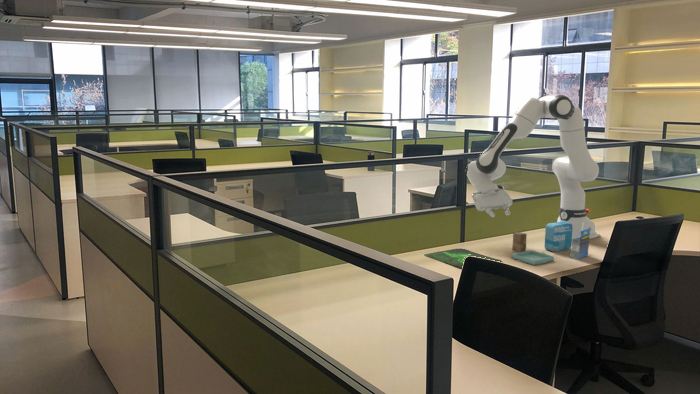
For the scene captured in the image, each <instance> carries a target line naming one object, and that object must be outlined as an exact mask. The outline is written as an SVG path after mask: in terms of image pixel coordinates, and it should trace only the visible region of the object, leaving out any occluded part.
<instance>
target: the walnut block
mask: <svg viewBox="0 0 700 394" xmlns="http://www.w3.org/2000/svg"><path fill="white" fill-rule="evenodd" d="M511 250H512V251H513V252H515V253H519V252H524V251H527V233H524V232H521V231H519V232H513V234H512V249H511Z"/></svg>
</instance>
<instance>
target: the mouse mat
mask: <svg viewBox="0 0 700 394" xmlns="http://www.w3.org/2000/svg"><path fill="white" fill-rule="evenodd" d="M468 254H471V255H468ZM423 256H424V257H426V258H430V259H432V260H434V261H438V262H441V263H443V264H445V265H449V266H452V267H455V268H459V269H461V270H463V269H462V266H463V262H464V260H465V258H466V257H467V256H476V257H481V258H485V257H486V258H485V259H490V260H495V261H500V262H501V263H502V262H503V261H502V259H499V258H496V257H495V258H494V257H491V256H487V255H485V254H480V253H477V252H473V251H472V250H468V249H465V248H459V247H458V248H453V249H446V250H442V251H436V252H435V251H434V252H429V253H424V254H423ZM464 257H465V258H464ZM463 259H464V260H463Z"/></svg>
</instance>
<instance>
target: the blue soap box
mask: <svg viewBox="0 0 700 394" xmlns="http://www.w3.org/2000/svg"><path fill="white" fill-rule="evenodd" d="M572 228H573V226H572V224H571V223H567V222H557V221H556V222H550V223H549V222H548V223H547V224H546V225H545V231H544V232H545V234H544V249H545V250H547V251H550V252H554V253H555V252H560V251H568V250H571V246H572Z"/></svg>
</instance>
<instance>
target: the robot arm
mask: <svg viewBox="0 0 700 394" xmlns="http://www.w3.org/2000/svg"><path fill="white" fill-rule="evenodd" d="M542 118H548V119H556V120H557V121H558V125H559V126H558V127H559V139H560V140H559V141H560V147H561V149H562V150H563V151H564V152H565V154H566V155H565V156H559V157H557V158H555V160H554V161H553V163H552V172H553V173H554V175H555V176H556V178H557V179H558V180H557V181H558V184H559V189H560V206H559V208H558V215H559V216H558V217H557V221H556V222H567V223H571V224H572V226H573V228H572V239H574V238H576V237H579V236H581V234H580V231H583V230H586V229H589V228H590V237H589V240H592V239H595V238H598V237H600V236H601V234H600V232H596V224H595V223H594V221H592V220H591V219H590V218H589V217H588V216H587V214H590V212H591V209H589V208H585V207H586V191H584V189H583V187H582V185H581V182H583V183H585V182H592V181H595V180H596V179H597V177H598V176H599V173H600V168H599V165H598V163H597V162H596V161H595V160H594V159H593V157H592V156H591V153H590V151H589V150H588V145H587V141H586V140H587V139H586V132H585V121H584V117H583V113H582V110H581V108H580V107H579V106H576V105H574V104H573V101H572V100H571V98H570V97H568V96H566V95H563V94H557V93H552V94H543V95H541V96H539V97H538V98H536V97H528V98H527V99H525V101H523V103H521V105H520V106H519V107H518V108H517V110H516V111H515V112H514V115H513V116H512V117H511V119H509V121H508V123H507V124H506V125H505V126H504V127H503V128H501V130H500V131H499V133H498V134H497V135H496V137H495V138H494V139H493V140H492V142H491V143H490V144H489V146H488V147H487V148H486V149H484V150H483V151H482V152H483V153H482V152H481V153H482V154H481V153H480V154H479V155H480V156H479V155H478V156H479V157H478V156H477V157H478V159H477V158H476V160H473V161H471V162H470V163H468V165H467V166H468V171H467V174H466V177H467V179H468V180H469V182H470V184H471V186H473V188H474V191H475V192H473V193H472V194H471V198H472V200H473V204H474V206H475V208H476V210H477V211H478V212H483V211H484V212H485V213H487V214H488V215H489V216H490V217H491V218H495V217H496V214H495V212H493V211H492V210H497V209H498V210H499V209H504V214H505V215H506V216H510V215H511V211H510V207H511V206H512V205H513V199H512V198H511V196H510V194H509V193H508V192H507V191H506V190H505V189H506V188H505V187H504V185H501V184H497V183H495V182H493V181H496V180H499V179H500V178H503V176H504V175H505V174H506V172H507V164H506V163H505V162H504V161H503V160H502V159H501V158H500V156H501V154H502V152H503V151H504V150H505V149H506V148H507V146H508V145H509V143H511V142H512V141H514V140H516V139H525V138H527V137H528V136H529V135H531V134H532V132H533V130H534V129H535V128H536V126H537V124H538V123H539V121H540V120H541V119H542ZM586 233H587V232H585V233H584V234H586Z"/></svg>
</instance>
